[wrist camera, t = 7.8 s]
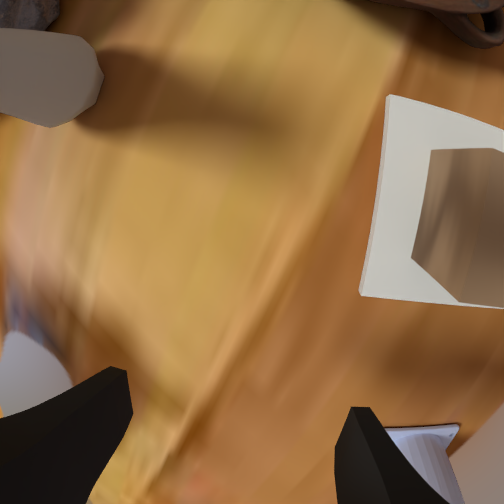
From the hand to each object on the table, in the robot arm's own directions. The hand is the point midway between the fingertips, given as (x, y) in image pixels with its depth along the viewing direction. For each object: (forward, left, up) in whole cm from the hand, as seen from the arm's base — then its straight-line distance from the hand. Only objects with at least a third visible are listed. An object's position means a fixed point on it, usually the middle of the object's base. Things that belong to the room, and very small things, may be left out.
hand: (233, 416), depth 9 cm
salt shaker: (+12, +13, -10) cm, 20 cm away
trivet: (+7, -11, -10) cm, 16 cm away
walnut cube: (+6, -11, -9) cm, 16 cm away
